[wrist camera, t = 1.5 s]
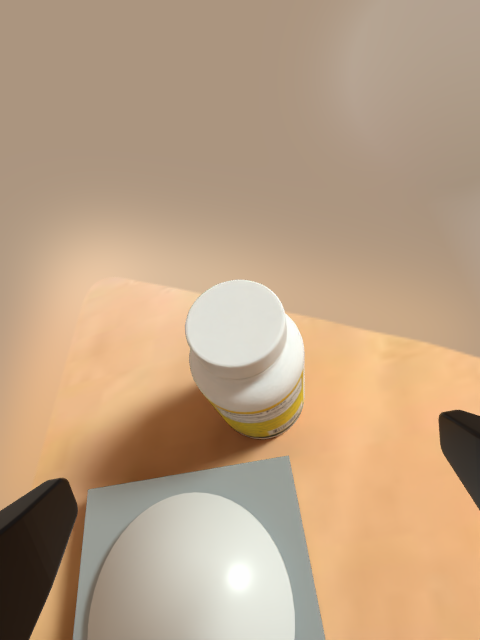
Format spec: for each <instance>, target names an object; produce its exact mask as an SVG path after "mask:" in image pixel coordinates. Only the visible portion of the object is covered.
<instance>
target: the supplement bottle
mask: <svg viewBox="0 0 480 640" xmlns="http://www.w3.org/2000/svg"><path fill="white" fill-rule="evenodd" d="M185 334H186V339H187V342H188V345H189V347H190V354H189V363H190V369H191V373H192V376H193V379H194V381H195V383H196V385H197V386H198V388H199V389H200V391H201V392H202V394H203V395H204V396H205V397H206V398H207V399H208V401H209V402H210V403H211V404H212V405H213V407H214V408H215V409H216V410H217V411H218V412H219V414H220V415H221V416H222V417H223V418H224V420H225V421H226V422H227V423H228V424H229V425H230V426H231V427H232V428H233V429H234V430H236V431H237V432H239V433H240V434H242V435H244V436H247V437H250V438H255V439H267V438H272V437H276V436H278V435H280V434H282V433H284V432H285V431H287V430H288V429H289V428H290V427H291V426H293V424H294V423H295V422H296V421H297V419H298V418H299V416H300V413H301V411H302V408H303V404H304V345H303V340H302V337H301V334H300V332H299V330H298V328H297V326H296V325H295V323H294V322H293V321H292V320H291V318H290V317H289V316H288V315H286V314H285V312H284V308H283V306H282V304H281V302H280V300H279V299H278V297H277V296H276V295H275V294H274V293H273V292H272V291H271V290H270V289H269V288H267V287H266V286H264V285H262V284H260V283H256V282H253V281H249V280H232V281H227V282H223V283H220V284H218V285H215V286H213V287H211V288H210V289H208V290H207V291H205V292H204V293H203V294H202V295H200V296H199V297H198V299H197V300H196V301H195V302H194V304H193V305H192V307H191V309H190V310H189V313H188V315H187V319H186V324H185Z"/></svg>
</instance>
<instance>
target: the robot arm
mask: <svg viewBox="0 0 480 640" xmlns="http://www.w3.org/2000/svg"><path fill="white" fill-rule="evenodd" d="M439 433H440V445H441V449H442V452H443V454H444V455H445V457H446V459H447V460H448V462H449V463H450V465H451V466H452V468H453V470H454V471H455V473H456V474H457V476H458V477H459V479H460V480H461V482H462V484H463V485H464V487H465V488H466V490H467V491H468V493H469V494H470V496H471V498H472V499H473V501H474V502H475V504H476V505H477V507H478V508H479V510H480V416H478V415H475V414H472V413H468V412H465V411H462V410H453V411H447V412H442V413H441V414H440V415H439ZM77 512H78V507H77V503H76V500H75V497H74V495H73V492H72V490H71V487H70V484H69V482H68V480H67V479H65V478H58V479H52V480H48V481H46V482H44V483H42V484H41V485H39V486H38V487H36V488H35V489H33V490H32V491H30V492H29V493H27V494H26V495H24V496H23V497H21V498H20V499H18V500H17V501H15V502H13V503H12V504H10V505H9V506H7V507H6V508H4V509H3V510H1V511H0V640H29V639H30V636H31V634H32V632H33V629H34V627H35V625H36V623H37V620H38V618H39V616H40V613H41V611H42V609H43V607H44V604H45V602H46V600H47V597H48V595H49V593H50V590H51V588H52V585H53V583H54V580H55V577H56V575H57V572H58V569H59V566H60V563H61V560H62V557H63V554H64V552H65V549H66V546H67V543H68V540H69V537H70V534H71V531H72V528H73V526H74V523H75V520H76V517H77Z"/></svg>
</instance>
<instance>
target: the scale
mask: <svg viewBox="0 0 480 640" xmlns="http://www.w3.org/2000/svg"><path fill="white" fill-rule="evenodd" d="M73 640H325V635H324V630H323V625H322V620H321V615H320V610H319V605H318V600H317V595H316V590H315V585H314V580H313V575H312V570H311V565H310V560H309V555H308V550H307V545H306V540H305V535H304V530H303V525H302V520H301V515H300V510H299V505H298V500H297V495H296V490H295V485H294V480H293V475H292V470H291V465H290V460H289V456H284V457H278V458H272V459H266V460H260V461H254V462H248V463H242V464H236V465H230V466H224V467H219V468H213V469H207V470H201V471H195V472H189V473H183V474H177V475H171V476H165V477H160V478H154V479H148V480H142V481H136V482H130V483H124V484H118V485H112V486H106V487H100V488H95V489H89V490H88V496H87V506H86V515H85V525H84V535H83V545H82V554H81V564H80V574H79V584H78V593H77V603H76V613H75V623H74V632H73Z"/></svg>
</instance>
